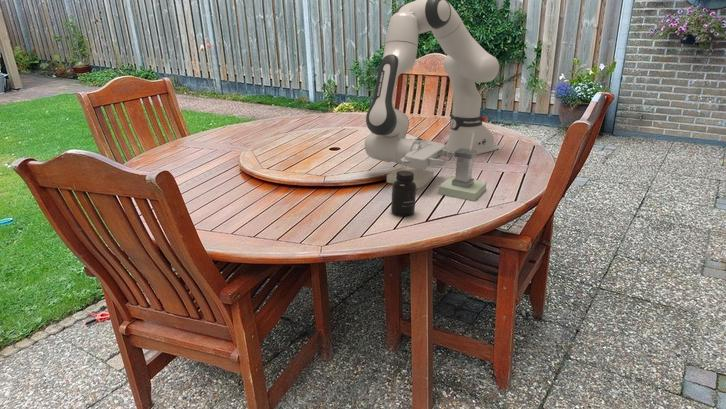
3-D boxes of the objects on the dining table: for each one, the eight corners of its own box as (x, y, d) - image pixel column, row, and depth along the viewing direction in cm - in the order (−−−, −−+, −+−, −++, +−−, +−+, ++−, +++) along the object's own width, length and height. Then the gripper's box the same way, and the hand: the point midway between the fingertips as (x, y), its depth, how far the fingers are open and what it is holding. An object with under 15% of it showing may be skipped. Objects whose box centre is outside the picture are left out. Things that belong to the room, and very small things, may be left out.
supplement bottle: (407, 219, 137) (410, 178, 132) (386, 213, 140) (388, 174, 136) (418, 211, 143) (421, 172, 138) (398, 205, 146) (399, 167, 141)
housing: (457, 180, 160) (460, 147, 156) (473, 183, 158) (477, 150, 154) (451, 185, 156) (454, 151, 152) (468, 188, 153) (471, 154, 149)
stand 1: (401, 172, 175) (402, 165, 174) (433, 178, 169) (433, 171, 168) (386, 182, 165) (386, 175, 164) (419, 188, 159) (419, 181, 159)
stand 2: (451, 182, 165) (451, 175, 164) (485, 189, 160) (486, 182, 159) (437, 193, 156) (438, 186, 155) (474, 201, 150) (475, 193, 149)
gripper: (396, 150, 153) (438, 157, 147) (422, 136, 169) (460, 142, 163) (395, 170, 155) (436, 177, 149) (421, 154, 172) (458, 160, 166)
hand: (449, 159), depth 156 cm, fingers open, 8 cm apart
